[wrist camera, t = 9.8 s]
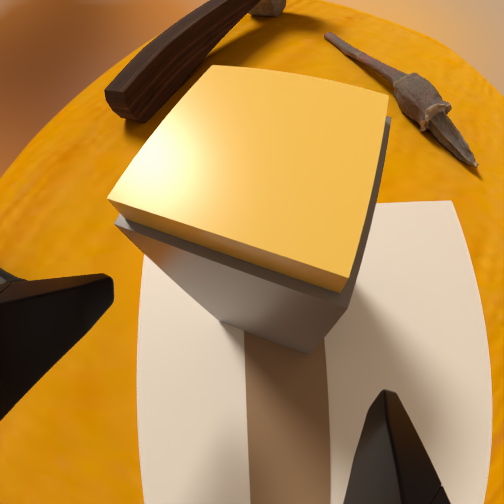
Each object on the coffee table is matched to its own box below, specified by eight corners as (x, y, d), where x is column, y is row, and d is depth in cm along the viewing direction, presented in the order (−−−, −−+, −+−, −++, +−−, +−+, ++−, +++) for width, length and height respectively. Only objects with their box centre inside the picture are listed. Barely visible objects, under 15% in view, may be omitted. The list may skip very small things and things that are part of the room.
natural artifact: (455, 185, 19) (453, 168, 16) (326, 42, 28) (308, 21, 25) (488, 161, 17) (491, 140, 14) (348, 24, 26) (332, 3, 23)
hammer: (165, 151, 27) (291, 8, 32) (106, 70, 17) (280, -54, 22) (133, 142, 29) (262, 5, 34) (75, 71, 18) (247, -53, 23)
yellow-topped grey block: (309, 355, 14) (357, 295, 4) (217, 320, 15) (95, 204, 5) (340, 266, 16) (397, 93, 6) (254, 237, 17) (209, 61, 7)
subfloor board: (460, 565, 6) (465, 569, 5) (169, 596, 8) (165, 601, 7) (447, 206, 17) (451, 200, 16) (152, 230, 19) (147, 223, 18)
